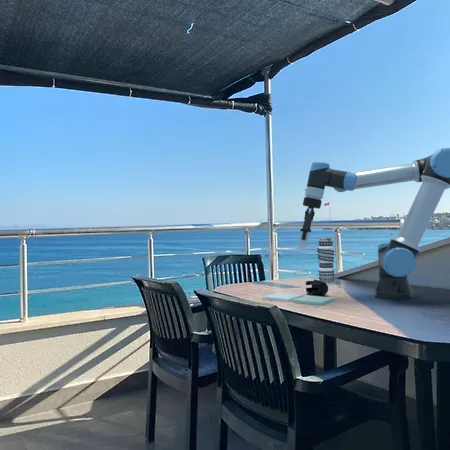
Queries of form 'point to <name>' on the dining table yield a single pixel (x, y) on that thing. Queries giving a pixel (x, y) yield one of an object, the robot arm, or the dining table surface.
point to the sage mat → (313, 300)
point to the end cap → (317, 288)
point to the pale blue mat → (282, 297)
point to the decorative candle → (326, 261)
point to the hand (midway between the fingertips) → (302, 246)
